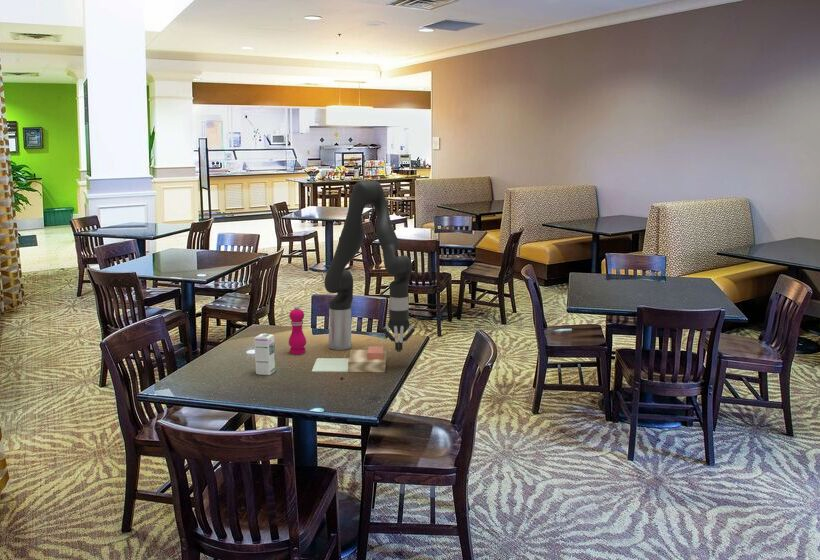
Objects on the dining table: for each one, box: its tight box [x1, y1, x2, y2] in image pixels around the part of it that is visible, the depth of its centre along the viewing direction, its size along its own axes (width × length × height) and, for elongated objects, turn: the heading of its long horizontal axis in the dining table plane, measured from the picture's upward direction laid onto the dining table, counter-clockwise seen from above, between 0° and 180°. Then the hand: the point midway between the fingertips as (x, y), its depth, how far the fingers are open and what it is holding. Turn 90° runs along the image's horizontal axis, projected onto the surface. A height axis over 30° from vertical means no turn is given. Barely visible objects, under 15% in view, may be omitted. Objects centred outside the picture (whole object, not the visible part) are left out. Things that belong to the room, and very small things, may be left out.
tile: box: [367, 345, 385, 359], centre depth 268 cm, size 6×9×2 cm, turn 0°
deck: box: [347, 349, 387, 373], centre depth 269 cm, size 14×16×4 cm
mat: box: [311, 357, 349, 373], centre depth 269 cm, size 14×16×1 cm
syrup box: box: [253, 333, 277, 376], centre depth 259 cm, size 6×6×14 cm
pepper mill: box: [288, 305, 307, 355], centre depth 284 cm, size 7×7×20 cm
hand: (398, 351), depth 268 cm, fingers closed
